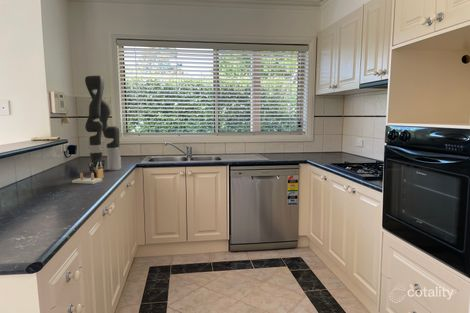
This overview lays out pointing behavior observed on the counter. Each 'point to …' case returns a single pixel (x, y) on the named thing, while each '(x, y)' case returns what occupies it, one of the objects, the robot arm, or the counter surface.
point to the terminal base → (87, 179)
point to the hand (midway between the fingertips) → (97, 176)
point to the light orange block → (99, 173)
